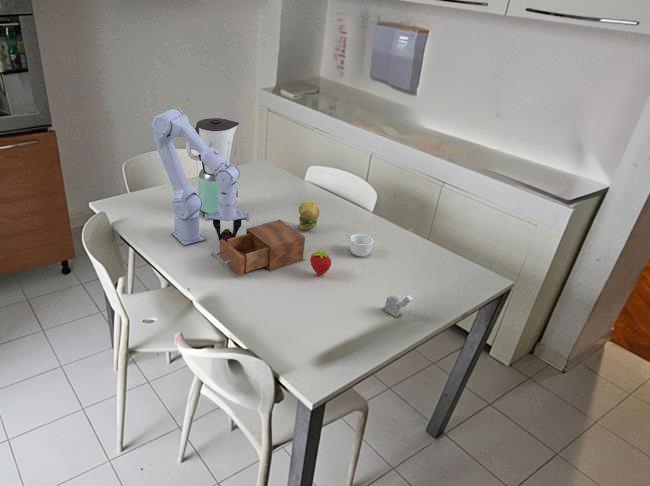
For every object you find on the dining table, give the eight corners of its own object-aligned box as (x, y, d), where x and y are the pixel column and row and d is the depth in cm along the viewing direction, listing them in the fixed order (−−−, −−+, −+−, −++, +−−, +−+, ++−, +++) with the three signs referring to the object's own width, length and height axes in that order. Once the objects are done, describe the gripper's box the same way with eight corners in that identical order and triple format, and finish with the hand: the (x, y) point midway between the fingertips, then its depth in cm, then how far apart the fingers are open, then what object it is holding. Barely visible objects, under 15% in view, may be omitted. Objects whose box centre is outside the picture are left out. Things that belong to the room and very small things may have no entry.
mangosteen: (217, 241, 179) (217, 229, 176) (228, 238, 181) (229, 226, 178) (224, 247, 176) (224, 234, 173) (235, 243, 178) (235, 231, 175)
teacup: (375, 254, 178) (378, 240, 175) (360, 261, 174) (363, 247, 171) (353, 242, 184) (355, 229, 182) (338, 249, 180) (340, 235, 178)
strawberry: (318, 284, 162) (321, 256, 157) (304, 272, 167) (307, 245, 162) (333, 279, 164) (337, 251, 159) (319, 267, 170) (322, 241, 165)
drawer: (227, 280, 161) (227, 262, 157) (206, 261, 170) (206, 243, 166) (273, 265, 169) (274, 247, 165) (251, 248, 178) (252, 230, 174)
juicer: (233, 202, 210) (235, 114, 191) (240, 217, 199) (243, 125, 180) (186, 205, 206) (183, 116, 187) (191, 221, 195) (188, 128, 176)
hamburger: (310, 223, 196) (314, 194, 189) (321, 232, 190) (325, 202, 184) (293, 227, 193) (295, 197, 186) (303, 236, 187) (306, 205, 181)
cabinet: (269, 270, 168) (270, 247, 163) (245, 251, 178) (246, 228, 173) (302, 259, 174) (305, 236, 170) (278, 241, 184) (279, 219, 179)
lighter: (383, 309, 152) (388, 287, 147) (387, 307, 153) (392, 285, 148) (404, 322, 147) (410, 298, 143) (407, 319, 148) (413, 296, 144)
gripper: (248, 197, 174) (247, 233, 181) (204, 197, 173) (205, 233, 180) (250, 206, 168) (248, 243, 175) (205, 206, 167) (205, 243, 174)
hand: (226, 239), depth 177 cm, fingers closed on mangosteen, 4 cm apart
